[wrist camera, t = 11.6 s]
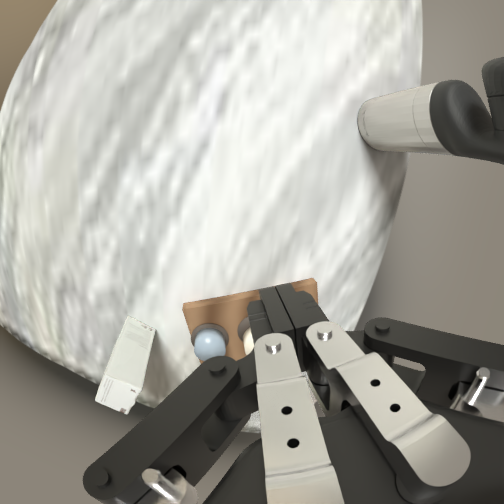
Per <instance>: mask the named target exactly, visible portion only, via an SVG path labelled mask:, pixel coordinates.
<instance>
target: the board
mask: <svg viewBox="0 0 504 504" xmlns="http://www.w3.org/2000/svg"><path fill="white" fill-rule="evenodd" d="M291 284H292V286H293V288H294V289H295V291H296V292H298V291H303V290H304V291H305V292H307V293H309V294H311V295H312V297H313V298H314V299H315V302H317V304H318V292H317V282H316V281H315V280H314V279H313V278H310V279H306V280H301V281H297V282H292V283H291ZM274 287H275V286H274ZM256 300H260V297H259V289H258V290H253V291H248V292H243V293H238V294H233V295H227V296H222V297H216V298H211V299H205V300H200V301H194V302H188V303H183V309H182V310H183V313H184V316H185V319H186V322H187V325H188V328H189V331H190V334H191V342H192V344H193V346H194V347H195V336H196V334H197V333H198V332H199V331H200V330H202V329H205V328H214V329H217V330H219V331H220V332H222V334H223V335H224V338H225V348H226V352H225V355H224V356H228V357H231V358H233V359H234V360H235V361H237V360H239V359H242V358H244V357H245V356H247V355H246V353H245V348H244V343H243V335H244V333H245V332H246V330H247V329H249V328H250V324H249V319H248V314H247V306H248V304H249V302H251V301H256ZM199 360H200V359H199ZM203 362H204V361H202V360H200V363H201V364H202V363H203Z"/></svg>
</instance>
